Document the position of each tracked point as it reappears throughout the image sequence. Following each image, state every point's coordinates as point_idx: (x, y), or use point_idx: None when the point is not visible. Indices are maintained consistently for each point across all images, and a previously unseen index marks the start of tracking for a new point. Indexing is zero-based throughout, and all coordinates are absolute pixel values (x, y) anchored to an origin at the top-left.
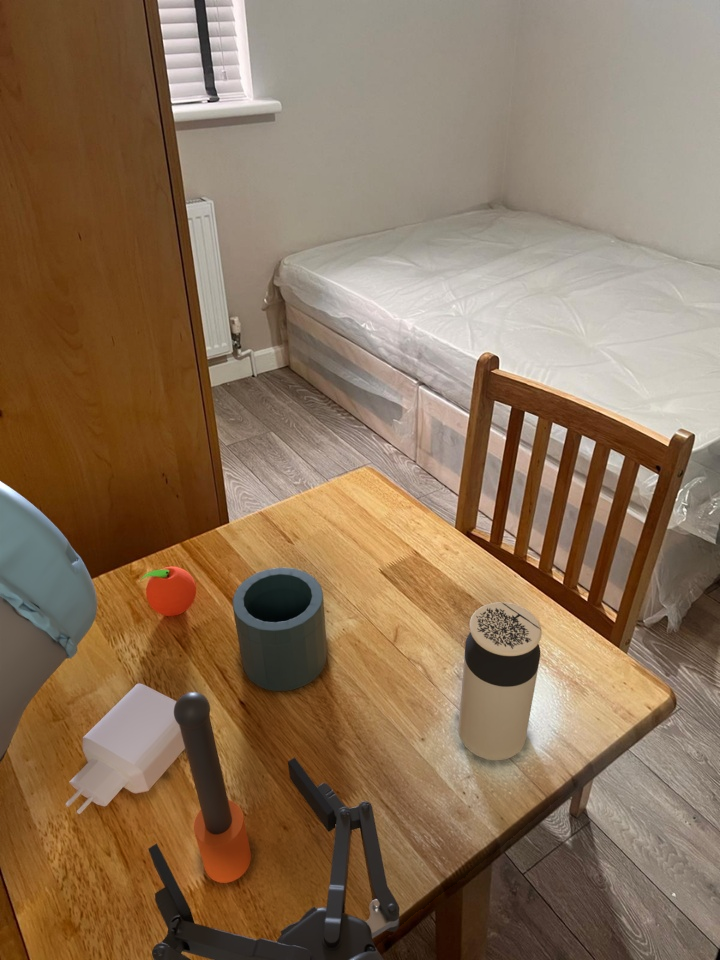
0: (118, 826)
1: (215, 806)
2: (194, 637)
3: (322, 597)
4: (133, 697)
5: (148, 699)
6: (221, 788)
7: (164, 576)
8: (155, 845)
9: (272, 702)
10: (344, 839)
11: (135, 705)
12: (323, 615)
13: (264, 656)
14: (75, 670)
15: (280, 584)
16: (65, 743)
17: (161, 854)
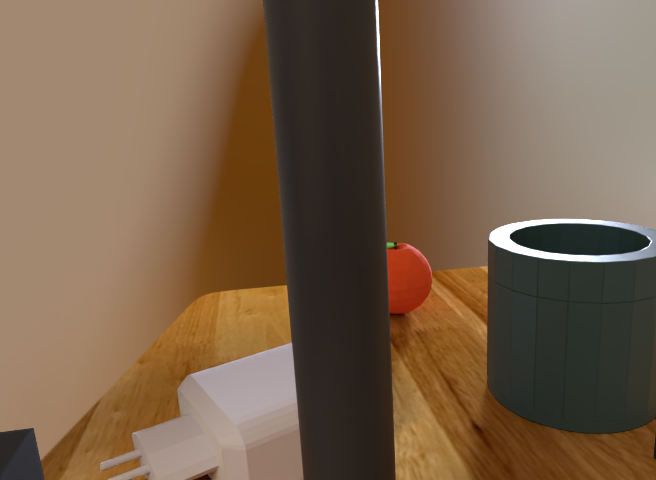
0: None
1: (344, 472)
2: (415, 339)
3: None
4: (288, 347)
5: None
6: (376, 401)
7: (390, 247)
8: (22, 432)
9: (540, 441)
10: None
11: (286, 355)
12: None
13: (537, 330)
14: (241, 340)
15: (577, 246)
16: (175, 406)
17: (6, 467)
